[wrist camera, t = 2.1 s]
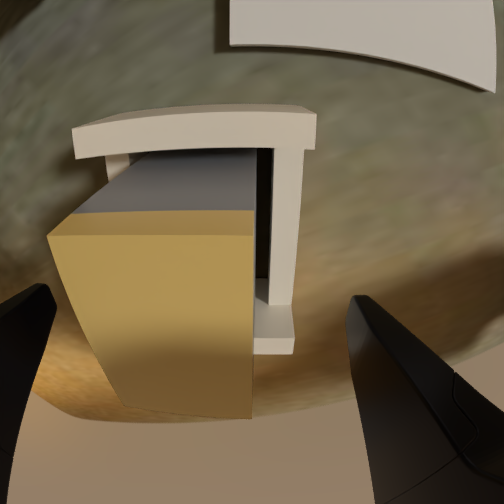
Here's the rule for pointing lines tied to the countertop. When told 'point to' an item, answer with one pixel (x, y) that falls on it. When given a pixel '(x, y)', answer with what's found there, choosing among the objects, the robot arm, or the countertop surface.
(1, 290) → the countertop surface
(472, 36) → the mat
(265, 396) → the countertop surface
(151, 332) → the plug
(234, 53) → the countertop surface
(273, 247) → the white rectangular frame
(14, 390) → the robot arm
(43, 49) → the countertop surface
